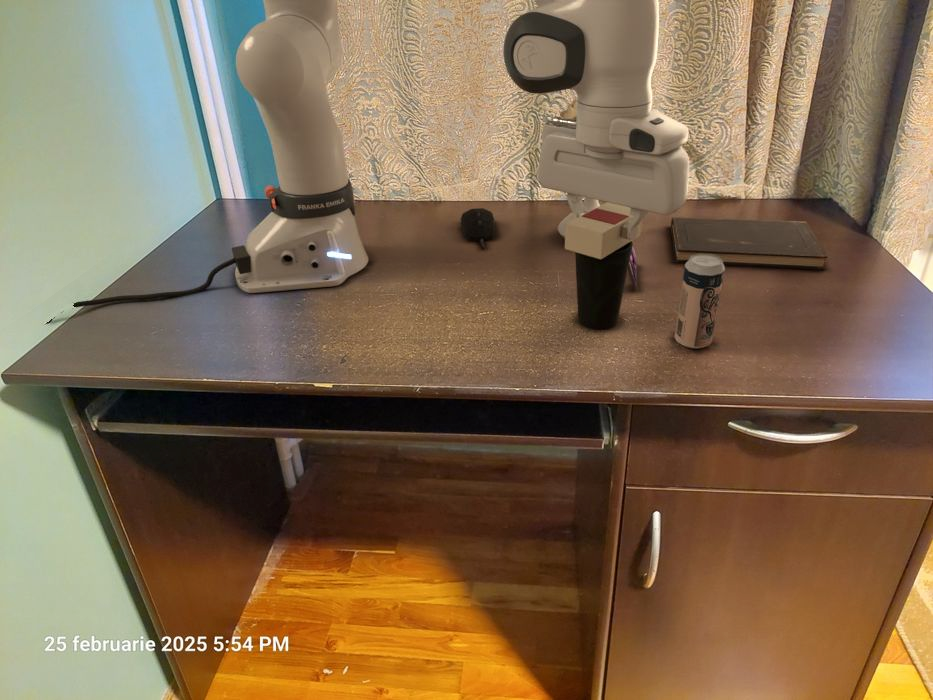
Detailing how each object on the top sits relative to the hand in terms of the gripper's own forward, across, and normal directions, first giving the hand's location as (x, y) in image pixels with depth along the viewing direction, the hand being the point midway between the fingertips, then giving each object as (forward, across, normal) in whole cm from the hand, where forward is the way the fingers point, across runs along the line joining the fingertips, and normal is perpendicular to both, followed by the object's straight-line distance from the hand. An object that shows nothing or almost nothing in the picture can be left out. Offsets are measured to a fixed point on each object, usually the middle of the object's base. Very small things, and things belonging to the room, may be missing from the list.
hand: (604, 231), depth 88 cm
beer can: (+14, +13, +3) cm, 19 cm away
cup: (+14, 0, 0) cm, 14 cm away
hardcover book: (+14, +5, +37) cm, 40 cm away
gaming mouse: (+14, -35, +15) cm, 41 cm away
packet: (+2, 0, 0) cm, 2 cm away
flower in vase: (+14, -18, +24) cm, 33 cm away
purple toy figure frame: (+14, -4, +14) cm, 20 cm away
